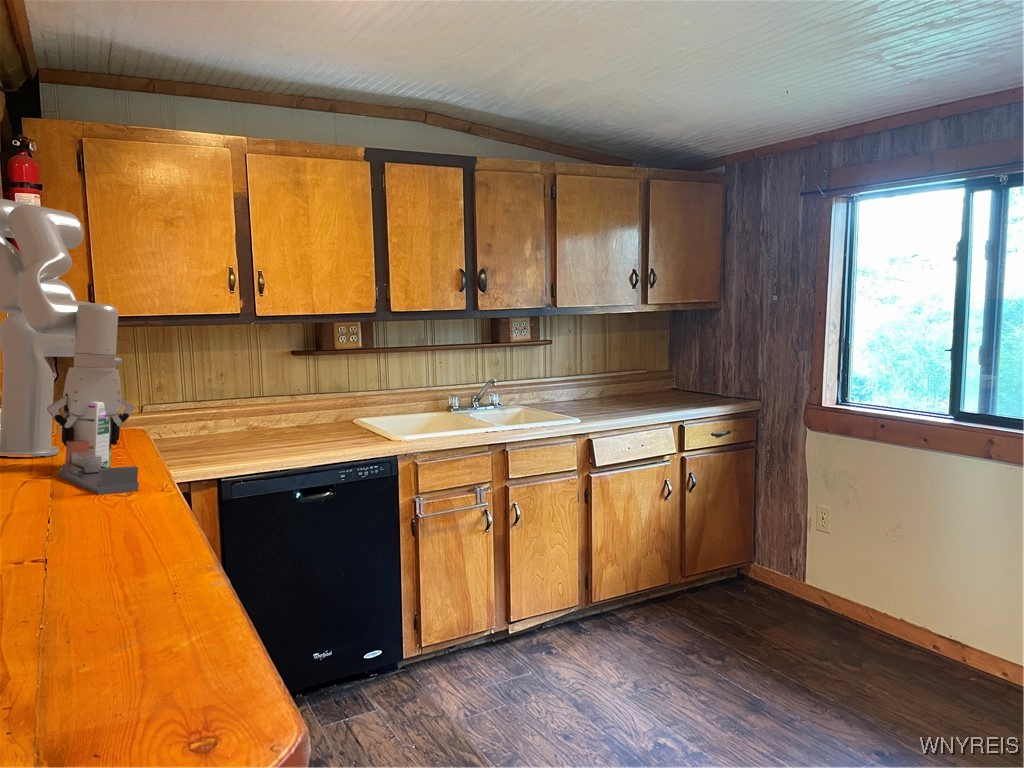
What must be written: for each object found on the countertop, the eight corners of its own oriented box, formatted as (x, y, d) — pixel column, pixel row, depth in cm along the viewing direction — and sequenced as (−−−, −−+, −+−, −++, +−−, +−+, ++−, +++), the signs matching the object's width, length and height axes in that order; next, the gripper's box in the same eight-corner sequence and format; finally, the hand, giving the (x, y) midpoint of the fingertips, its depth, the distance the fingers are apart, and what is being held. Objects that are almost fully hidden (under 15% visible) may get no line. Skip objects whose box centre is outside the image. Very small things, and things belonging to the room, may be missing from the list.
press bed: (58, 476, 139) (59, 453, 139) (96, 472, 145) (97, 451, 145) (98, 494, 128) (99, 470, 127) (138, 490, 133) (139, 467, 133)
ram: (65, 465, 142) (66, 440, 142) (83, 463, 145) (85, 439, 144) (83, 473, 136) (84, 447, 136) (102, 471, 139) (103, 446, 139)
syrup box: (94, 472, 145) (98, 402, 145) (66, 469, 146) (70, 400, 145) (110, 467, 151) (115, 400, 150) (83, 464, 151) (87, 398, 150)
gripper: (130, 362, 156) (126, 440, 157) (40, 359, 143) (36, 444, 144) (145, 365, 152) (141, 445, 153) (54, 362, 138) (50, 450, 139)
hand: (90, 444), depth 148 cm, fingers closed on syrup box, 8 cm apart
